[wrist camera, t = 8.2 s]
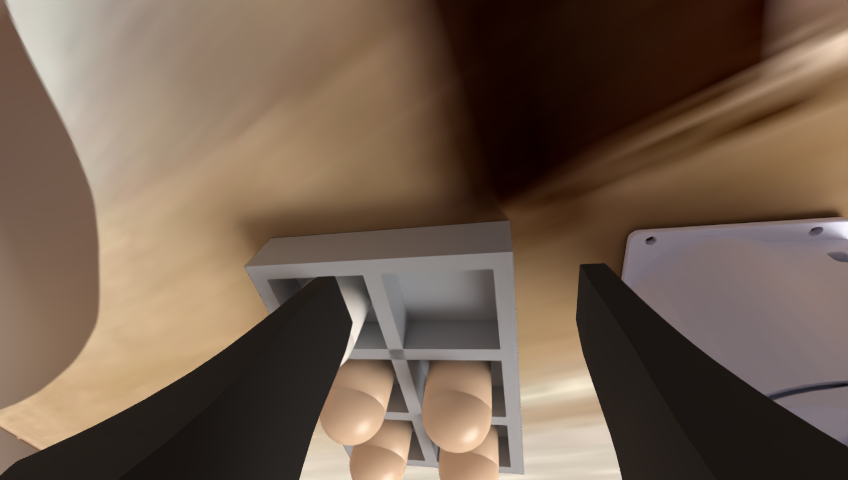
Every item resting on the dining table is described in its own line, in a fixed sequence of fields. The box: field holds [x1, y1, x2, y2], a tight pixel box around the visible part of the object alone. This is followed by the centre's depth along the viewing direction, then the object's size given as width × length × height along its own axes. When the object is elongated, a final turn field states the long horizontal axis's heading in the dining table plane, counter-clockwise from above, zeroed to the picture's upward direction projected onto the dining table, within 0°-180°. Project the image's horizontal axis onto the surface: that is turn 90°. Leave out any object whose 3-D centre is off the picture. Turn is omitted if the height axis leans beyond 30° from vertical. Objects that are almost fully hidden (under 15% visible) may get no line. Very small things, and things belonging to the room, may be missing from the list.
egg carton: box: [244, 221, 524, 480], centre depth 24 cm, size 15×22×7 cm
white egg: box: [301, 275, 372, 367], centre depth 21 cm, size 4×4×6 cm
